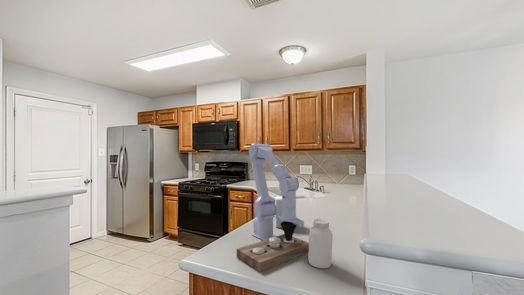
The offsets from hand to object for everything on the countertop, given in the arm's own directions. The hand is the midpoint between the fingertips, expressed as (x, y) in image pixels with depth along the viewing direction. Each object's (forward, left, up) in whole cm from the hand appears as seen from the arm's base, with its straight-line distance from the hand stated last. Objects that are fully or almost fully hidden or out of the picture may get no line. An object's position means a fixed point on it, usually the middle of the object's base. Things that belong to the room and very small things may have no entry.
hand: (288, 240), depth 94 cm
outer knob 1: (0, -16, -3) cm, 16 cm away
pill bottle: (+16, -1, -3) cm, 16 cm away
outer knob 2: (0, 0, -3) cm, 3 cm away
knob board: (0, -8, -3) cm, 9 cm away
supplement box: (-23, +20, -4) cm, 31 cm away
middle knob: (0, -8, -1) cm, 8 cm away
